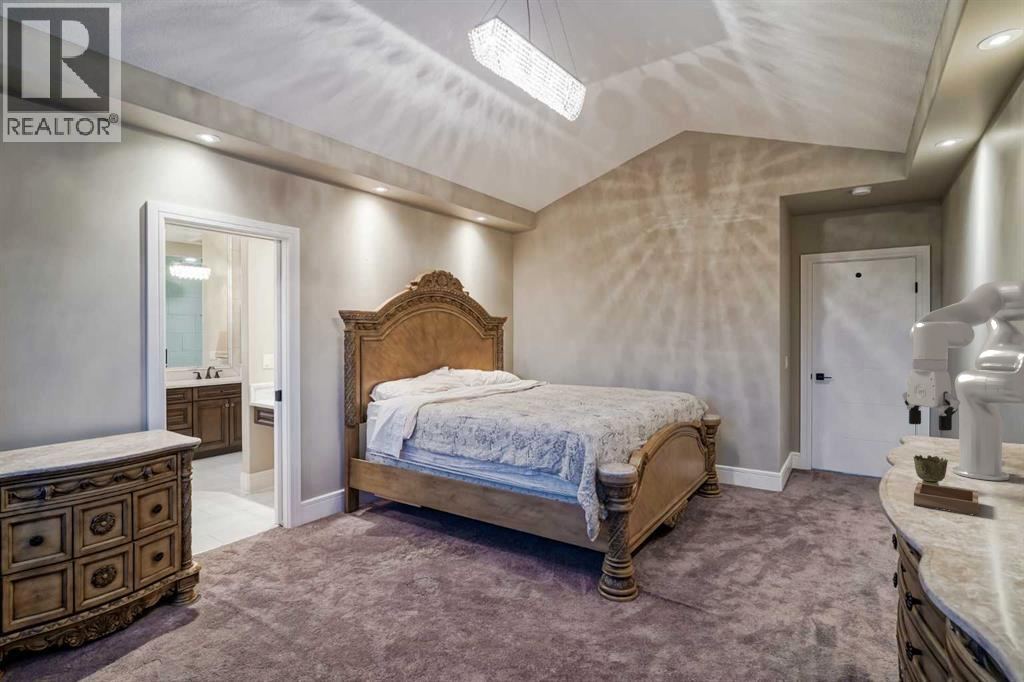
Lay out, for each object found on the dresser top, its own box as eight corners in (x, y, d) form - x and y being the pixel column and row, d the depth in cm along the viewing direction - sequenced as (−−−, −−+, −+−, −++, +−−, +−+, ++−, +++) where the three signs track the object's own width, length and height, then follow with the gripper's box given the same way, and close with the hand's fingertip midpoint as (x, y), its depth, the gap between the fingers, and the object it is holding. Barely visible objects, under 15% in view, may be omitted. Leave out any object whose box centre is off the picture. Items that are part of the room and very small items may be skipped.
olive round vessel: (919, 488, 142) (919, 459, 142) (909, 481, 149) (909, 453, 149) (952, 491, 139) (952, 461, 139) (940, 483, 146) (940, 455, 146)
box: (917, 493, 138) (917, 482, 138) (977, 503, 130) (977, 491, 130) (913, 505, 129) (913, 493, 129) (978, 516, 121) (978, 503, 121)
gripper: (892, 364, 152) (892, 422, 152) (944, 368, 135) (944, 433, 135) (916, 364, 152) (916, 421, 153) (972, 367, 135) (971, 432, 135)
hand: (929, 427), depth 144 cm, fingers open, 9 cm apart
